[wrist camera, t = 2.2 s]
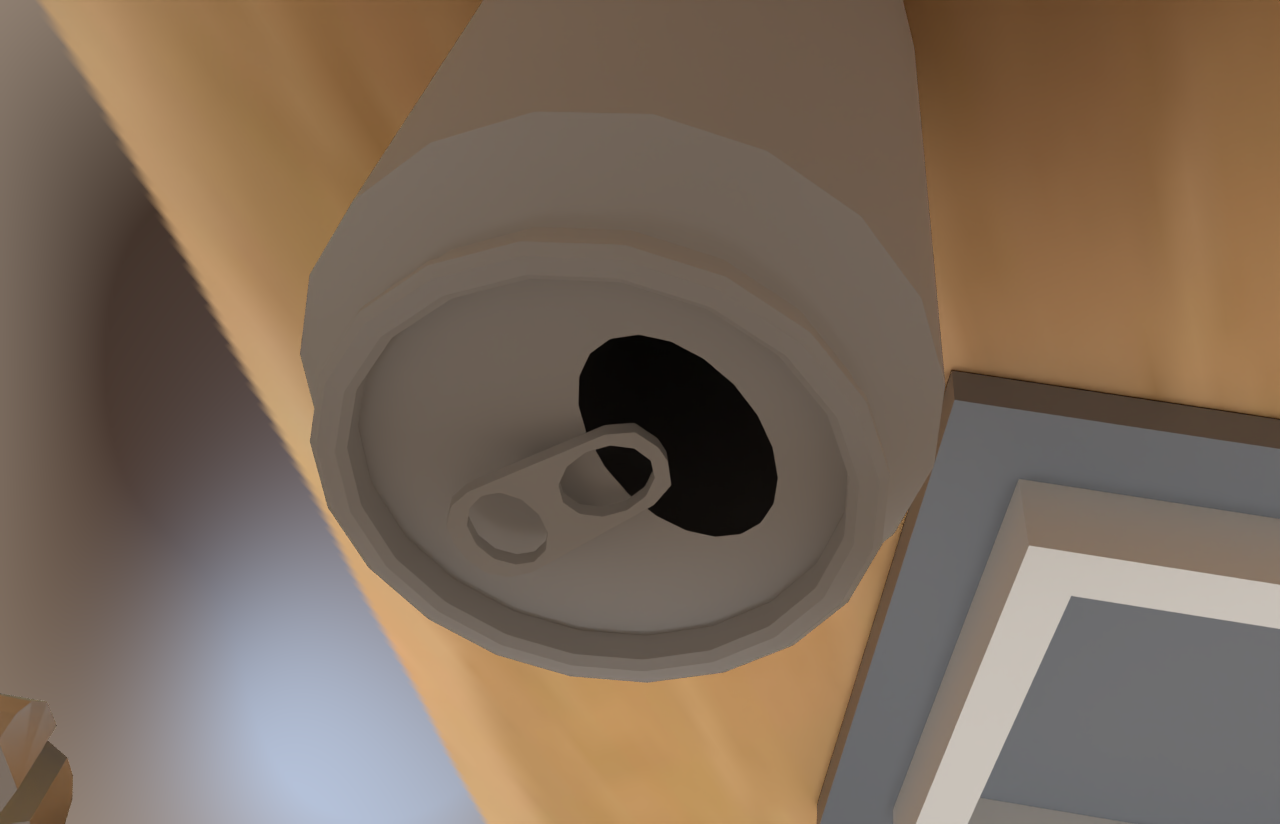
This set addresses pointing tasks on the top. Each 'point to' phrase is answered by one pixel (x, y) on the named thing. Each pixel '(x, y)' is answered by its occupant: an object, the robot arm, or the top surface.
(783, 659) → the top surface
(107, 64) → the top surface
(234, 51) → the top surface
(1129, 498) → the grey flat square tray
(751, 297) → the can
